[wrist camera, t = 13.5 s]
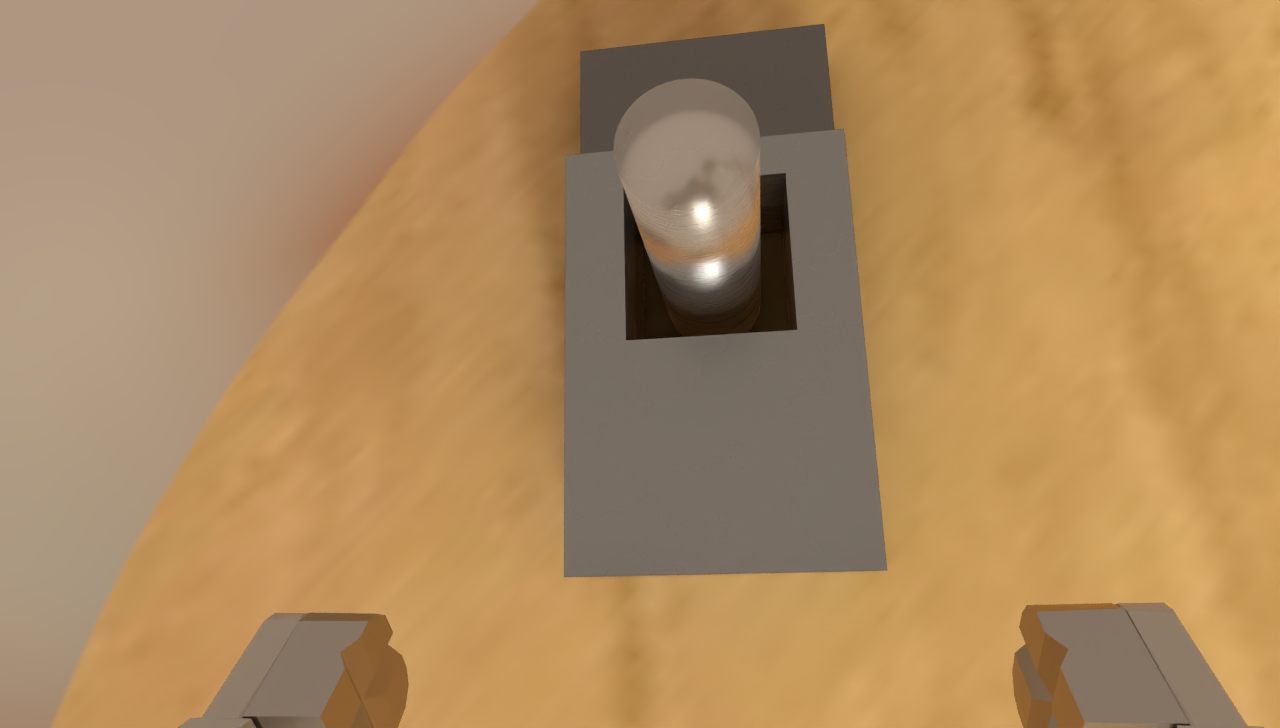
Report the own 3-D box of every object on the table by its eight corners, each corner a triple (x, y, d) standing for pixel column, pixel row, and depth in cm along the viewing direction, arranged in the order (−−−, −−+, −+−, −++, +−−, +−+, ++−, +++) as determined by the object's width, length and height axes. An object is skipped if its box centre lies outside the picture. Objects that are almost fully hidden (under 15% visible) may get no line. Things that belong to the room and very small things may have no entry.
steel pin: (758, 256, 26) (755, 71, 16) (763, 344, 25) (764, 203, 16) (667, 263, 26) (612, 86, 17) (669, 350, 26) (614, 216, 16)
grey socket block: (819, 62, 27) (829, -21, 24) (866, 571, 23) (887, 570, 19) (592, 86, 28) (566, 11, 25) (595, 576, 24) (564, 577, 20)
